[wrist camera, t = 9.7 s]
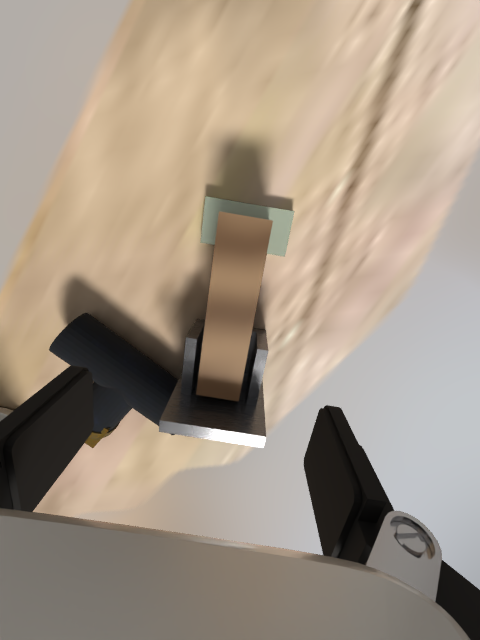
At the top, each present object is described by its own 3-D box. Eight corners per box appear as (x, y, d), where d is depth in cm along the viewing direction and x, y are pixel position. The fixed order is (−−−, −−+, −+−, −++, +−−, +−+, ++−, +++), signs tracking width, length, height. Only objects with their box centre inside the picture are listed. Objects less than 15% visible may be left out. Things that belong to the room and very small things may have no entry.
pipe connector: (131, 478, 31) (9, 402, 28) (148, 443, 36) (46, 375, 33) (194, 416, 28) (65, 323, 25) (202, 387, 33) (96, 306, 30)
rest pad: (283, 255, 26) (284, 256, 26) (202, 241, 26) (200, 242, 25) (292, 211, 25) (294, 211, 24) (207, 197, 25) (205, 196, 24)
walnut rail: (240, 373, 30) (238, 401, 25) (204, 367, 30) (196, 394, 25) (269, 220, 25) (273, 220, 20) (225, 213, 24) (218, 211, 20)
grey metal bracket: (260, 387, 32) (263, 447, 23) (183, 375, 32) (158, 431, 23) (272, 331, 29) (280, 375, 21) (189, 317, 29) (164, 356, 21)
